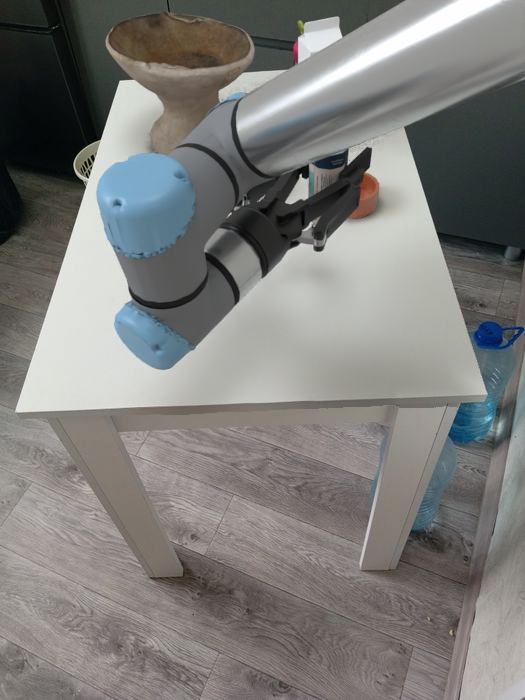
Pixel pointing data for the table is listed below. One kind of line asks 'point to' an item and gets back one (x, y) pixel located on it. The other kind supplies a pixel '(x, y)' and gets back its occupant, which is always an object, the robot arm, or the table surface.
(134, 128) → the table surface
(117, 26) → the bowl
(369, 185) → the holder
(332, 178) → the beer can
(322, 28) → the milk
